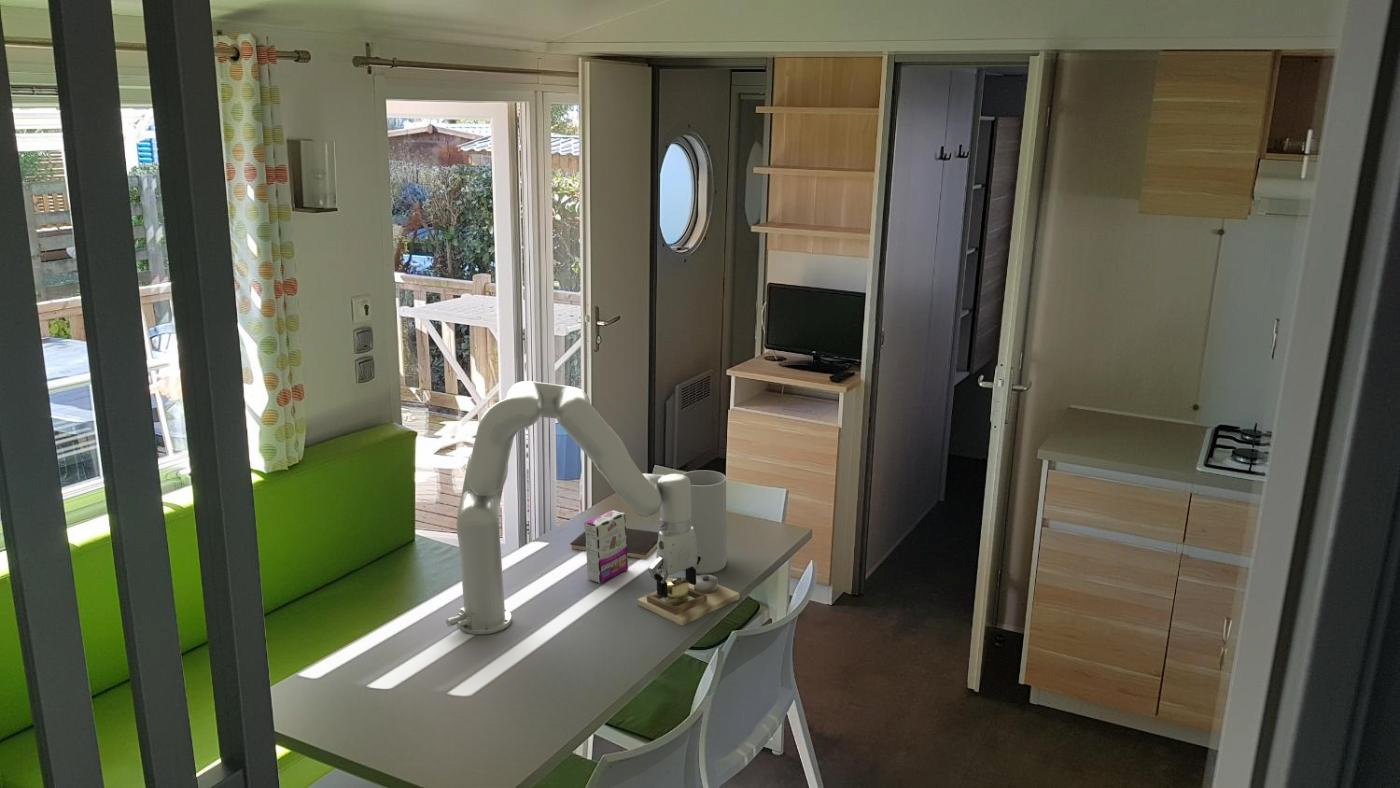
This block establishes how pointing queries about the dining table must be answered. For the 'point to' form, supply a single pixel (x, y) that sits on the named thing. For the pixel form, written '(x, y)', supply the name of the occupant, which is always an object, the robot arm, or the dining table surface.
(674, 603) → the gold round vessel
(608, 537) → the candy bar box
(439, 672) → the dining table surface
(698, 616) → the carrier
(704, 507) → the cylinder vase
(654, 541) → the hardcover book
